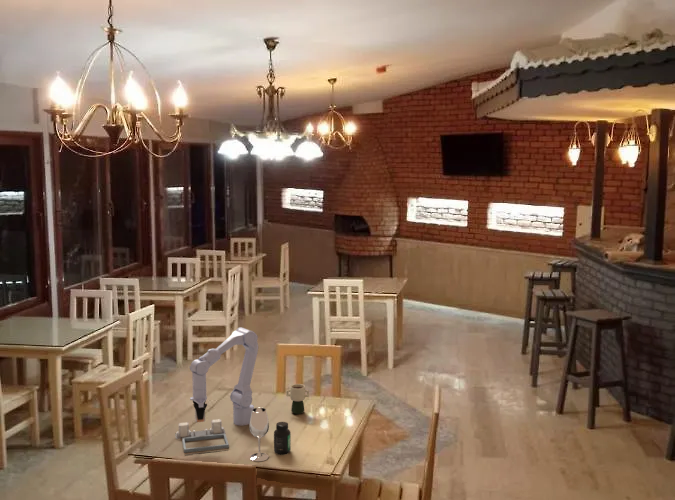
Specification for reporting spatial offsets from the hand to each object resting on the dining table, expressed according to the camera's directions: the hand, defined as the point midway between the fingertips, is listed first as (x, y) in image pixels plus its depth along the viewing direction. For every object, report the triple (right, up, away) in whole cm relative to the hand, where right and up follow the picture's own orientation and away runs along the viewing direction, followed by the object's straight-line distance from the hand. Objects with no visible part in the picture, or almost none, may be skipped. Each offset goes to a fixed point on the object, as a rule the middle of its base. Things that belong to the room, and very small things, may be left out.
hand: (200, 417), depth 291 cm
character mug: (+41, -5, +29) cm, 50 cm away
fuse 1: (-7, -7, -1) cm, 10 cm away
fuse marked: (0, -1, 0) cm, 1 cm away
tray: (+4, -10, -10) cm, 15 cm away
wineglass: (+28, -11, -20) cm, 36 cm away
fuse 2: (+7, -7, +3) cm, 10 cm away
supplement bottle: (+37, -11, -14) cm, 41 cm away
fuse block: (0, -8, +1) cm, 8 cm away
